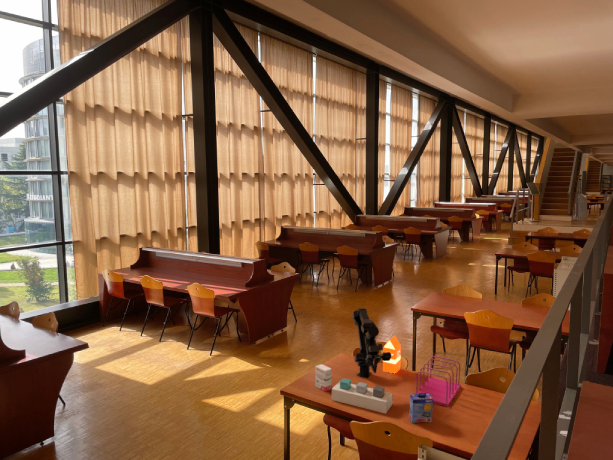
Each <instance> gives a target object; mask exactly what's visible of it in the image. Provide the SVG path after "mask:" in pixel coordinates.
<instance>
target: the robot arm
mask: <svg viewBox="0 0 613 460" xmlns="http://www.w3.org/2000/svg"><path fill="white" fill-rule="evenodd" d="M351 317H352V321H353V323H354V325H355V326H356V328H357V335H358V342H359V352H356V353H355V354H354V355H355V356H354V362H355V363H356V365H357V367H359V371H358V373H357V377H362V378H367V379H369V377H370V376H371V375H372V374H373V373H374V374H376V373H377V370H378V364H379V363H380V362H381V360H382V362H383V361H390V359H391V357H392V356H391V353H390V352H383V347H384V346H383V344H382V343H378V344H377V338H378V336H379V335H380V334H379V333H380V330H379V328H378V327H377V325H376V323H375V322H374V321H373V320H372V319H370V317H369V314H368V310H367V308H362V307H361V308H357V309H356V310H354V311H352V315H351ZM380 351H382V354H380ZM370 369H371V370H372V372H373V373H372V372H370Z"/></svg>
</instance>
